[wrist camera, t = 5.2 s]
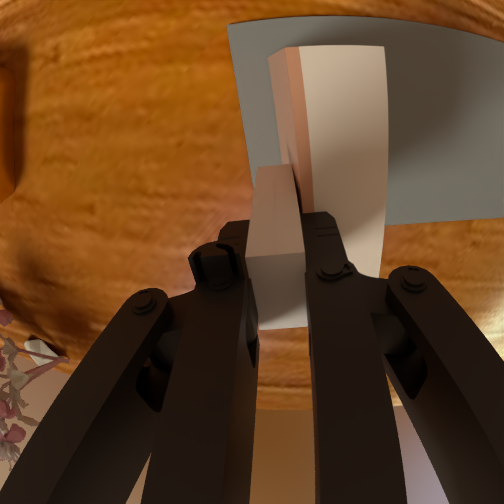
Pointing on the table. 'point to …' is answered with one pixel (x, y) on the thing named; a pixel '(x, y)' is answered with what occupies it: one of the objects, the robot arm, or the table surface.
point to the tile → (337, 139)
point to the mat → (399, 108)
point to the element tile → (6, 133)
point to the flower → (19, 387)
